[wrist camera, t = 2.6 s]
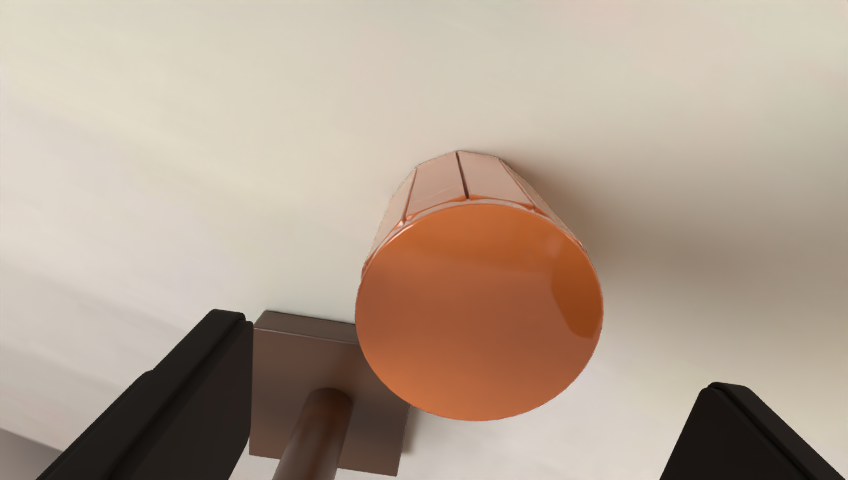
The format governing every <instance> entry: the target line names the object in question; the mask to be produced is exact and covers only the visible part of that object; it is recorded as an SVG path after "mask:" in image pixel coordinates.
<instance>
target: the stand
mask: <svg viewBox="0 0 848 480" xmlns="http://www.w3.org/2000/svg"><path fill="white" fill-rule="evenodd" d="M253 327H254V334H253V372H252V409H251V430H250V435H249V455H254V456H260V457H267V458H274V459H281V460H280V462H279V465H278V467H277V469H276V472H275V474H274V476H273V479H272V480H334V479H335V475H336V471H337V468H341V469H348V470H355V471H361V472H368V473H375V474H382V475H388V476H395V477H396V476H397V473H398V467H399V462H400V456H401V451H402V445H403V440H404V434H405V429H406V423H407V418H408V412H409V407H410V404H409V403H408V402H406V401H404V400H403V399H401V398H400V397H399V396H397V395H396V394H395V393H393V392H392V391H391V390H390V389H389V388H388V387H387V386H386V385H385V384H384V383H383V382H382V381H381V380H380V379H379V378H378V376H377V375H376V374H375V373H374V371H373V370H372V368H371V367H370V365H369V363H368V362H367V360H366V358H365V356H364V353H363V351H362V349H361V346H360V343H359V339H358V336H357V332H356V325H353V324H347V323H340V322H334V321H328V320H321V319H315V318H308V317H302V316H295V315H289V314H283V313H276V312H270V311H264V312H263V313H262V315H261V316H260V317H259V318H258V320H257V321H256V322H255V324H254V325H253Z"/></svg>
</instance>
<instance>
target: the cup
mask: <svg viewBox="0 0 848 480" xmlns="http://www.w3.org/2000/svg"><path fill="white" fill-rule="evenodd" d="M602 322H603V296H602V291H601V286H600V282H599V279H598V277H597V274H596V271H595V269H594V267H593V265H592V263H591V262H590V260H589V258H588V256H587V252H586V249H585V248H584V247H583V246H582V243H581V242H580V241H579V240H578V239H577V238H576V237H575V235H574V234H573V233H572V232H571V231H570V230H569V229H568V228H567V226H566V225H565V224H564V223H563V222H562V221H561V220H560V219H559V217H558V216H557V215H556V214H555V213H554V212H553V211H552V210H551V209H550V207H549V206H548V205H547V204H546V203H545V202H544V201H543V200H542V198H541V197H540V196H539V195H538V194H537V193H536V192H535V191H534V190H533V188H532V187H531V186H530V185H529V184H528V183H527V182H526V181H525V180H524V179H523V178H522V177H520V176H519V175H518V174H517V173H516V172H515V171H513V170H512V169H511V168H510V167H509V166H508V165H506V164H505V163H504V162H503V161H502V160H501V159H497V158H496V157H494V156H488V155H482V154H476V153H470V152H464V151H458V152H457V155H456V152H455V151H453V152H450V153H448V154H445V155H443V156H440V157H437V158H435V159H432V160H429V161H427V162H424V163H421V164H419V166H418V167H415V168H414V170H413V171H412V172H411V173H410V175H409V176H408V177H407V178H406V179H405V181H404V182H403V183H402V184H401V186H400V187H399V188H398V189H397V191H396V192H395V193H394V194H393V197H392V199H391V201H390V204H389V206H388V208H387V211H386V213H385V215H384V218H383V220H382V223H381V225H380V227H379V230H378V232H377V234H376V237H375V239H374V242H373V244H372V246H371V249H370V251H369V253H368V256H367V258H366V261H365V263H364V265H363V268H362V274H361V283H360V286H359V288H358V293H357V298H356V304H355V323H356V332H357V336H358V339H359V343H360V346H361V349H362V351H363V353H364V356H365V358H366V360H367V362H368V363H369V365H370V367H371V368H372V370H373V371H374V373H375V374H376V375H377V376H378V378H379V379H380V380H381V381H382V382H383V383H384V384H385V385H386V386H387V387H388V388H389V389H390V390H391V391H392V392H393V393H395V394H396V395H397V396H399V397H400V398H401V399H403V400H404V401H406V402H408V403H409V404H411V405H413V406H414V407H417V408H419V409H421V410H423V411H426V412H428V413H431V414H434V415H437V416H440V417H445V418H450V419H455V420H464V421H489V420H498V419H503V418H508V417H513V416H516V415H519V414H522V413H525V412H528V411H530V410H532V409H535V408H537V407H539V406H541V405H543V404H545V403H546V402H548V401H550V400H551V399H553V398H555V397H556V396H557V395H558V394H560V393H561V392H562V391H564V390H565V389H566V388H567V387H568V386H569V385H570V384H571V383H572V382H573V381H574V380H575V379H576V378H577V377H578V376H579V374H580V373H581V372H582V371H583V369H584V368H585V367H586V365H587V363H588V362H589V360H590V358H591V357H592V355H593V353H594V350H595V348H596V346H597V343H598V340H599V337H600V333H601V329H602Z"/></svg>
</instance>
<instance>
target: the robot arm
mask: <svg viewBox="0 0 848 480" xmlns="http://www.w3.org/2000/svg"><path fill="white" fill-rule="evenodd" d="M253 334H254V327H253V323H252V322H251V321H246V318H245V315H244V314H243V313H240V312H233V311H226V310H219V309H213V310H211V311H210V312H209V313H208V314H207V315H206V316H205V317H204V318H203V319H202V320H201V321H200V322H199V323H198V324H197V325H196V326H195V327H194V328H193V329H192V330H191V331H190V332H189V333H188V334H187V335H186V336H185V337H184V338H183V339H182V340H181V341H180V342H179V343H178V344H177V345H176V346H175V347H174V349H173V350H172V351H171V352H170V353H169V354H168V355H167V356H166V357H165V358H164V359H163V360H162V361H161V362H160V363H159V364H158V365H157V366H156V367H155V368H154V369H153V370H150V371H147V372H145V373H144V374H142V375H141V376H140V377H138V378H137V379H136V380H135V381H134V382H133V383H132V384H131V385H130V386H129V387H128V388H127V389H126V390H125V391H124V392H123V393H122V394H121V395H120V396H119V397H118V398H117V399H116V400H115V401H114V402H113V403H112V404H111V405H110V406H109V407H108V408H107V409H106V410H105V411H104V412H103V413H102V414H101V415H100V416H99V417H98V418H97V419H96V420H95V421H94V422H93V423H92V424H91V425H90V426H89V427H88V428H87V429H86V430H85V431H84V432H83V433H82V434H81V435H80V436H79V437H78V438H77V439H76V440H75V441H74V442H73V443H72V444H71V445H70V446H69V447H68V448H67V449H66V450H65V451H64V452H63V453H62V454H61V455H60V456H59V457H58V458H57V459H56V460H55V461H54V462H53V463H52V464H51V465H50V466H49V467H48V468H47V469H46V470H45V471H44V472H43V473H42V474H41V475H40V476H39V477H38V478H37V479H36V480H228V479H229V477H230V475H231V474H232V472H233V470H234V468H235V466H236V464H237V462H238V460H239V458H240V456H241V454H242V452H243V450H244V448H245V446H246V444H247V441H248V439H249V435H250V430H251V409H252V372H253ZM660 480H845V479H844V478H843V477H842V476H841V475H840V474H839V473H838V472H837V471H836V470H835V469H834V468H833V467H832V466H831V465H830V464H828V463H827V462H826V461H825V460H824V459H823V458H822V457H821V456H820V455H819V454H818V453H817V452H816V451H815V450H814V449H813V448H812V447H811V446H810V445H808V444H807V443H806V442H805V441H804V440H803V439H802V438H801V437H800V436H799V435H798V434H797V433H796V432H795V431H794V430H793V429H792V428H791V427H789V426H788V425H787V424H786V423H785V422H784V421H783V420H782V419H781V418H780V417H779V416H778V415H777V414H776V413H775V412H774V411H773V410H772V409H771V408H769V407H768V406H767V405H766V404H765V403H764V402H763V401H762V400H761V399H760V398H759V397H758V396H757V395H756V394H755V393H754V392H753V391H752V390H750V389H749V388H747V387H745V386H742V385H735V384H728V383H721V382H713V383H711V384H710V385H708V387H707V388H704V389H702V390H701V392H700V393H699V395H698V397H697V399H696V402H695V404H694V406H693V408H692V410H691V412H690V415H689V417H688V419H687V421H686V423H685V425H684V428H683V430H682V432H681V434H680V436H679V438H678V441H677V443H676V445H675V447H674V449H673V451H672V454H671V456H670V458H669V460H668V462H667V465H666V467H665V469H664V471H663V473H662V475H661V478H660Z"/></svg>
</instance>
